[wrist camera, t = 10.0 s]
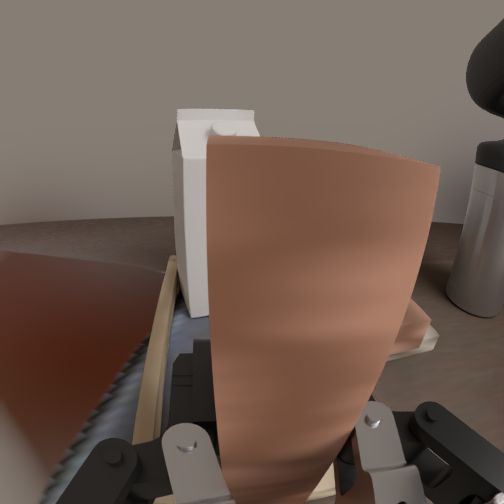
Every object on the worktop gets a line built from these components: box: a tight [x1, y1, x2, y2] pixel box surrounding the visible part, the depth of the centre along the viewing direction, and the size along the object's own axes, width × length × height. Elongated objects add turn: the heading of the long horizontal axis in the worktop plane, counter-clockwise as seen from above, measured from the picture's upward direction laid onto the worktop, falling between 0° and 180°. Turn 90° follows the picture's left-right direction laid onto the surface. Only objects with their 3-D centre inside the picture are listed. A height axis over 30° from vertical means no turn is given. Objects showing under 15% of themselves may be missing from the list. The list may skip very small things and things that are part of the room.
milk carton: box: [172, 109, 260, 318], centre depth 28 cm, size 7×7×19 cm
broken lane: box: [387, 298, 439, 361], centre depth 30 cm, size 10×21×5 cm, turn 7°
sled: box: [132, 136, 441, 504], centre depth 20 cm, size 13×30×17 cm, turn 7°
